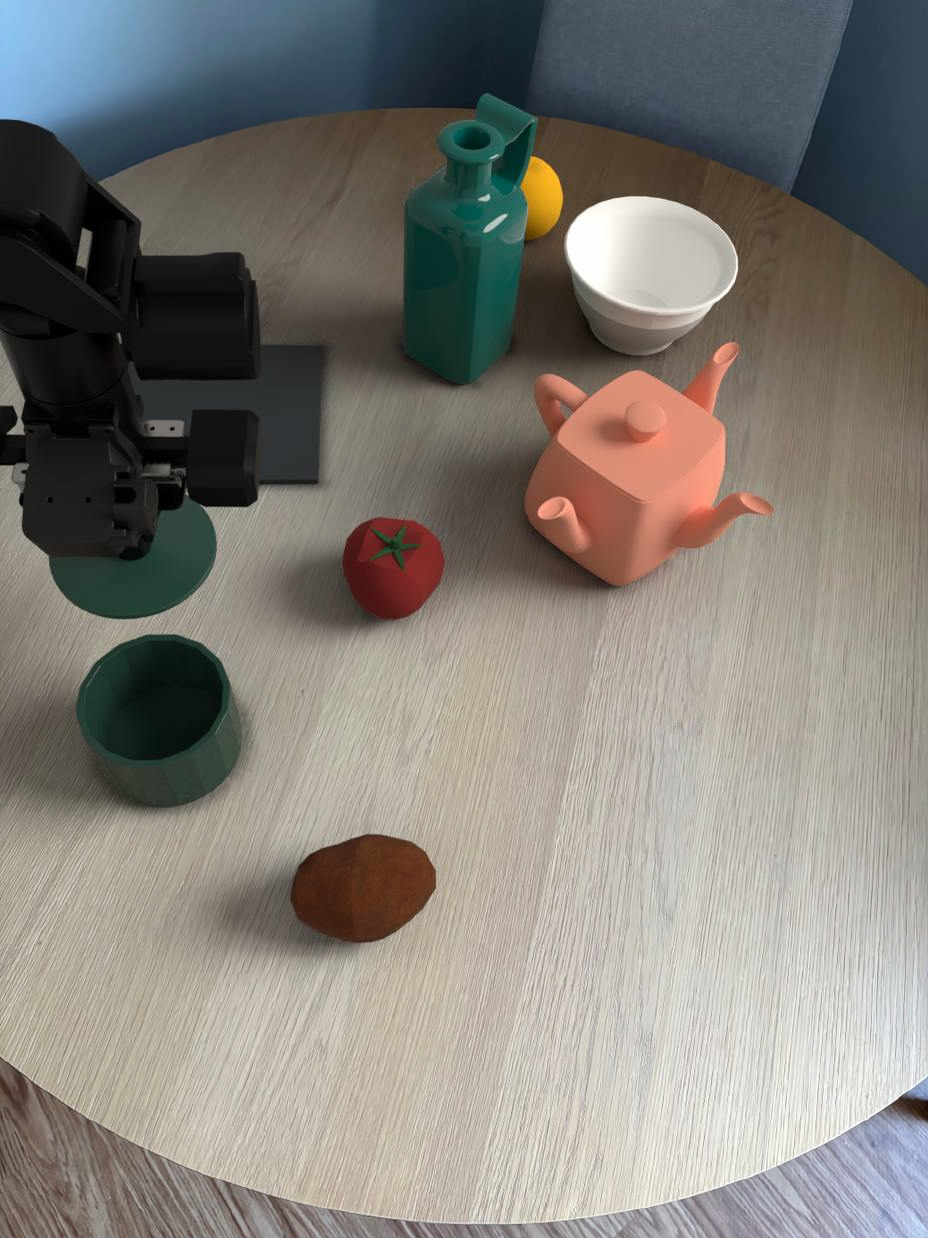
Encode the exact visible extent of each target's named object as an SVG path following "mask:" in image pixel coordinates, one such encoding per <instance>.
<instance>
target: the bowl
mask: <svg viewBox="0 0 928 1238" xmlns="http://www.w3.org/2000/svg"><path fill="white" fill-rule="evenodd" d="M563 252H564V257H565V258H564V259H565V261H566V263H567V266H568V267H569V270H570V272H571V278H572V285H573V286H572V287H573V292H574V295H575V298H576V300H577V302H578V305H579V307H580V309H581V311H582V313H583V315H584V317H585V318H586V320H587V321H588V323H589V328H590V330H591V332H592V334H593V335H594V337H595V338H596V339H597V340H598V341H599V342H601V344H603V345H604V346H606V347H608V348H609V349H611V350H614V351H615V352H618V353H621V354H625V355H631V356H649V355H653V354H657V353H660V352H662V351H663V350H665V349H666V348H668V347H669V346H670V345H671V344H673V342H674V341H676V340H678V339H680V338H681V337H684V336H685V335H686V334H687V333H689V332H690V331H691V330H692V329H694V328H696V326H697V325H698V324H700V322H702V321H703V319H704V318H705V317H706V315H707V314H708V312H709V311H710V310H711V309H712V307H713V305H714V304H715V303H717V302H719V301H720V300H722V298H723V297H725V296H726V295H727V294H728V293H729V292H730V290H731V289H732V287H733V286H734V284H735V282H736V279H737V275H738V272H739V263H738V262H739V260H738V259H739V258H738V254H737V251H736V247H735V245H734V244H733V243H732V241H731V239H730V237H729V235H728V234H727V233H726V232H725V231H724V230H723V229H722V228H721V227H720V226H719V224H717V223H716V222H714V220H712V219H711V218H710V217H708V216H707V215H705V214H703V213H701V212H699V211H698V210H696V209H694V208H692V207H690V206H687V205H685V204H682V203H679V202H677V201H672V200H669V199H665V198H661V197H653V196H647V195H646V196H642V195H641V196H637V195H633V196H631V195H629V196H622V197H614V198H612V199H607V200H604V201H600V202H598V203H596V204H593V205H592V206H589V207H587V208H586V209H585V210H583V211H582V212H581V213H579V214H578V215H577V216H576V217H575V218H574V220H573V221H572V223H570V225H569V227H568V229H567V232H566V234H565V236H564V242H563Z"/></svg>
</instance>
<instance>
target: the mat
mask: <svg viewBox="0 0 928 1238" xmlns="http://www.w3.org/2000/svg"><path fill="white" fill-rule="evenodd" d="M323 349H324V348H323V345H322V344H321V345H320V344H319V345H318V344H304V345H303V344H261V369H260V377H259V380H202V381H141V380H140V378H139V377H138V375H137V372H136V369H135V367H134V363H133V362H129V366H128V372H129V375H130V379H131V383H132V386H133V390H134V393H135V395H141V397H142V401H143V405H144V411H143V417H142V421H143V423H145V422H146V421H149V420H181V421H183V422H184V424H185V432H184V434H185V435H187V436H188V437H189V434H190V427H191V419H192V411H193V409H196V408H200V409H252V410H253V411H254V413H255V414H256V415H257V416H258V417H259V418H260V419H261V426H262V433H263V442H262V455H261V467H260V479H259V485H261V484H263V485H264V484H265V485H267V484H268V485H270V484H271V485H272V484H273V485H277V484H281V485H282V484H283V485H286V484H288V485H289V484H294V485H297V484H299V485H300V484H301V485H302V484H304V485H305V484H306V485H308V484H309V485H310V484H311V485H312V484H314V485H317V484H319V478H320V447H321V445H320V444H321V416H322V415H321V414H322V412H321V410H322V385H323V384H322V383H323V382H322V380H323V352H324V351H323Z"/></svg>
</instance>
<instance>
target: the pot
mask: <svg viewBox="0 0 928 1238" xmlns="http://www.w3.org/2000/svg"><path fill="white" fill-rule="evenodd" d="M739 351H740V346H739V343H738V342H735V341H730V342H727V343H725V344H723V345H722V346H720V347H719V348H717V349H716V350H715V352H713V354H712V355H711V356H710V357H709V359H708V360H707V361H706V363H705V364H704V366H702V368H701V369H700V370H699V371H698V373H697V374H696V375H695V377H694V378H693V379H692V380H691V382H690V383H689V384H688V385H687V386H686V388H685V389H684V390H683V392H680V391H678V390H676V389H675V388H673V387H672V386H670V385H668V384H667V383H665V382H663V381H661V380H660V379H658V378H656V377H655V376H653V375H651V374H649V373H648V372H645V371H643V370H637V369H636V370H630V371H629V372H625V373H624V374H622V375H620V376H618V377H617V378H615V379H613V380H611V381H610V382H609V383H607V384H606V385H604V386H602V387H601V388H600V389H598V390H597V391H596V392H595V393H593V394H592V395H590V396H589V395H588V394H587V393H585V392H584V391H583V390H582V389H580V388H578V387H577V386H576V385H575V384H573V383H571V382H570V381H568V380H566V379H565V378H563V377H560V376H559V375H556V374H552V373H544V374H541V375H540V376H538V377H537V378H536V379H535V381H534V384H533V395H534V400H535V404H536V407H537V409H538V412H539V415H540V417H541V419H542V421H543V423H544V426H545V428H546V430H547V432H548V434H549V436H550V438H551V440H550V441H549V442H548V445H547V446H546V448H545V449H544V451H543V452H542V455H541V456H540V457H539V460H538V462H537V463H536V466H535V467H534V470H533V472H532V474H531V476H530V479H529V482H528V485H527V489H526V492H525V496H524V510H525V514H526V516H527V518H528V521H529V523H530V524H531V526H532V527H533V528H534V529H535V530H536V531H537V532H538V533H539V534H540V535H541V536H542V537H543V538H545V539H546V540H547V541H548V542H550V544H552V545H554V547H556V548H557V549H558V550H560V551H561V552H562V553H563V554H565V555H566V556H567V557H569V558H570V559H571V560H573V561H574V562H576V563H577V564H579V566H582V567H583V568H584V569H586V570H587V571H589V572H590V573H592V574H593V575H595V576H596V577H597V578H599V579H601V580H602V581H604V582H606V583H607V584H610V585H612V586H614V587H623V586H624V587H625V586H627V585H630V584H633V583H635V582H636V581H638V580H640V579H642V578H643V577H645V576H646V575H648V574H649V573H650V572H652V571H653V570H655V569H656V568H658V567H659V566H660V565H662V564H663V563H664V562H666V561H667V560H668V559H669V558H671V557H672V556H673V555H674V554H676V553H677V552H678V551H679V550H680V549H682V548H683V549H700V548H702V547H705V546H708V545H710V544H711V543H713V542H715V541H716V540H717V539H718V538H720V537H721V536H722V535H723V534H724V533H725V532H726V531H727V530H728V528H729V527H730V526H731V524H732V523H733V522H734V521H735V520H736V519H737V518H738V517H740V516H741V515H746V514H752V515H760V516H769V515H772V514H774V512H775V509H774V507H773V505H772V504H771V503H769V502H768V501H767V500H766V499H763V498H761V497H759V496H758V495H755V494H753V493H750V492H741V491H740V492H733V493H731V494H729V495H727V496H725V498H723V499H722V500H721V501H720V502H719V503H718V504H717V505H716V507H713V505H714V503H715V502H716V498H717V497H718V495H719V490H720V488H721V484H722V480H723V475H724V472H725V471H724V470H725V463H726V428H725V425H724V423H722V422H721V421H720V420H719V419H718V418H716V417H715V416H714V410H715V404H716V400H717V395H718V392H719V391H718V390H719V389H720V388H719V387H720V385H721V383H722V379H723V378H724V376H725V374H726V372H727V371H728V369H729V368H730V366H731V364H732V363H733V361H735V359H736V358H737V356H738V353H739ZM561 404H563V405H564V406H566V407H567V408H568V409H570V410H571V411H572V413H571V414H570V415H569V416H568V417H567V419H566V417H565V415H564V412H563V410H562V406H561Z"/></svg>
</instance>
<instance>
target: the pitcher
mask: <svg viewBox="0 0 928 1238" xmlns="http://www.w3.org/2000/svg"><path fill="white" fill-rule="evenodd" d="M538 119H539V117H537V116H534V115H533V114H531V113H529V112H526V111H525V110H522V109H521V108H518V107H516V106H515V105H513V104H511V103H509V102H507V101H504V100H502V99H500V98H499V97H496V96H494V95H492V94H490V93H488V92H486V93H484V94H482V95H481V96H480V98H479V101H478V102H477V105H476V109H475V116H474V119H461V120H457V121H453V122H450V123H448V124H447V125H445V126H444V127H442V128H441V129H440V130H439V132H438V134H437V137H436V144H437V148H438V150H439V151H440V152H441V154H442V155H443V156H444V157H445V158H446V163H445V164H444V165H442V166H441V167H440V168H439V169H437V170H436V171H434V172H433V173H432V174H430V176H428V177H427V178H426V179H424V180H423V181H422V182H419V184H417V185H416V186H415V187H414V188H412V189H411V190H410V191H409V194H408V196H407V198H406V200H405V203H404V209H403V268H402V269H403V271H402V272H403V275H402V278H403V279H402V280H403V281H402V282H403V283H402V347H403V348H402V349H403V351H404V352H405V354H406V355H407V356H408V357H409V358H411V359H412V360H414V361H415V362H418V363H419V364H421V365H423V366H424V367H425V368H427V369H428V370H430V371H432V372H434V373H435V374H437V375H439V376H441V377H442V378H444V379H445V380H447V381H449V382H450V383H455V384H459V385H461V384H471V383H473V382H476V381H477V380H478V379H479V378H481V376H482V375H484V374H485V372H487V371H488V370H489V369H490V368H491V367H493V365H494V364H495V363H497V362H498V360H499V359H501V358H502V357H503V356H504V355H505V354H506V353H507V352H508V351H509V350H510V347H511V344H512V338H513V331H514V330H513V329H514V323H515V315H516V308H517V301H518V300H517V299H518V292H519V286H520V285H519V284H520V277H521V270H522V269H521V268H522V264H523V263H522V261H523V255H524V246H525V241H526V240H525V232H526V225H527V217H528V204H527V200H526V196H525V193H524V192H523V191H522V189H521V188H520V186H521V184H522V182H523V179H524V177H525V174H526V172H527V169H528V166H529V162H530V158H531V156H532V153H533V150H534V149H533V148H534V143H535V138H536V132H537V127H538V123H539V122H538V121H539V120H538Z"/></svg>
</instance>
